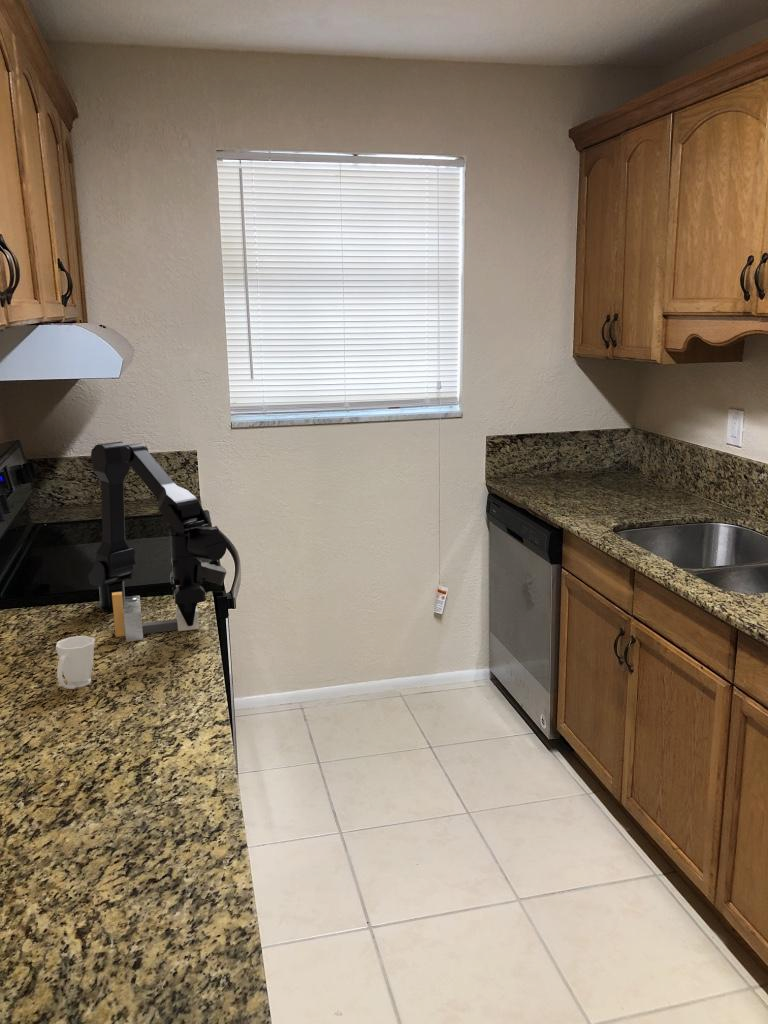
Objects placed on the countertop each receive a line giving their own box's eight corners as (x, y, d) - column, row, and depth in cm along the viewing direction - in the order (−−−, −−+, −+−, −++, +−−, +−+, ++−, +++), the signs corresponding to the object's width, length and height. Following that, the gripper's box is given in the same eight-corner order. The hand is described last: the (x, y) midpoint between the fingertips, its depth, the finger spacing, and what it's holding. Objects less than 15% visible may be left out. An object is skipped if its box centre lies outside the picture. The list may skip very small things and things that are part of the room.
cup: (105, 676, 156) (102, 635, 154) (80, 698, 146) (75, 655, 145) (71, 674, 157) (67, 634, 155) (43, 696, 147) (38, 654, 146)
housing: (126, 641, 174) (123, 612, 173) (125, 623, 185) (123, 596, 184) (143, 639, 175) (140, 610, 174) (141, 621, 186) (139, 594, 185)
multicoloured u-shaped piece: (115, 638, 175) (111, 596, 173) (115, 632, 179) (112, 591, 177) (199, 628, 180) (196, 588, 179) (197, 623, 184) (195, 583, 182)
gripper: (227, 561, 172) (231, 632, 175) (217, 541, 189) (221, 606, 193) (172, 566, 169) (177, 638, 172) (167, 545, 186) (172, 611, 189)
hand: (189, 622), depth 182 cm, fingers closed on multicoloured u-shaped piece, 4 cm apart
